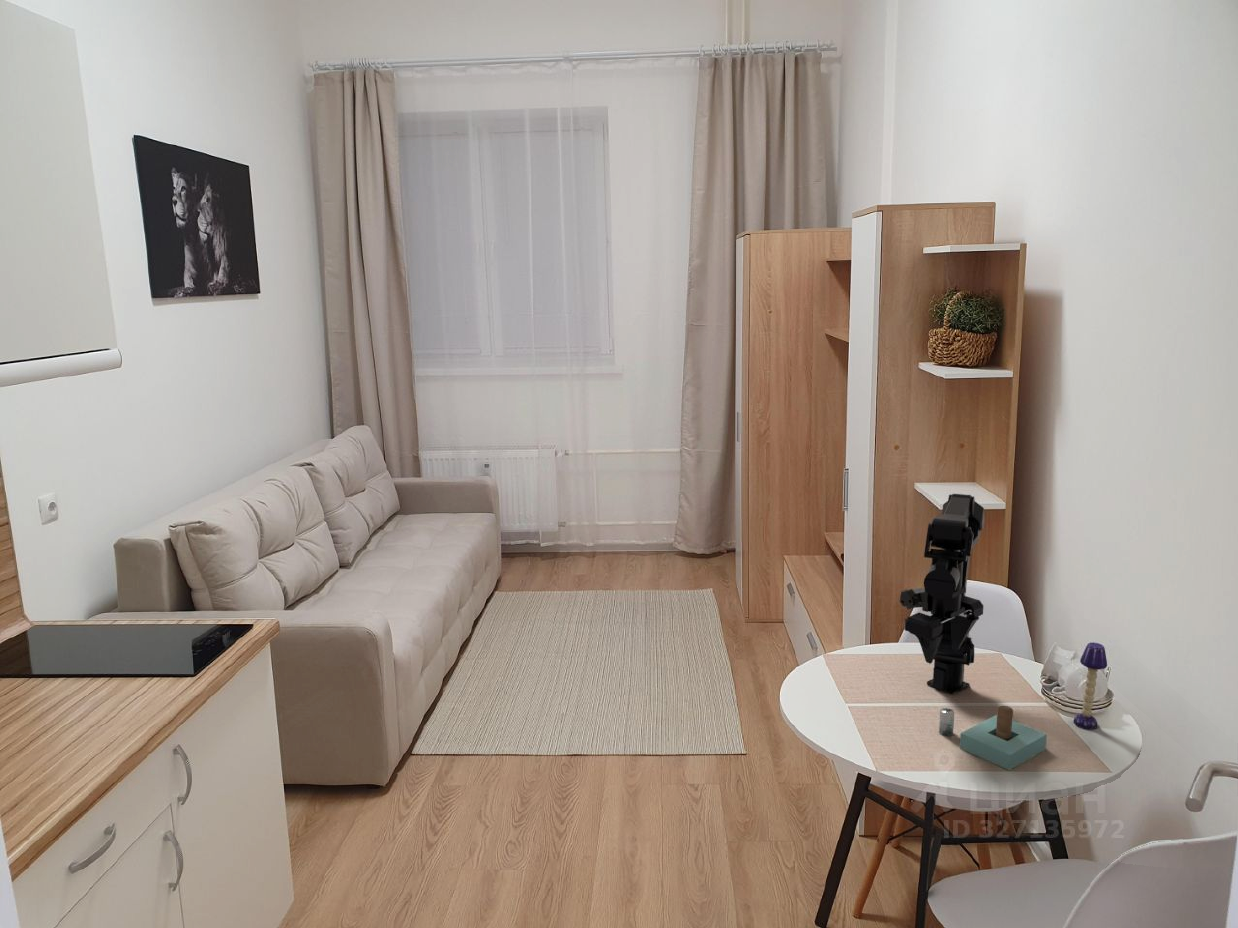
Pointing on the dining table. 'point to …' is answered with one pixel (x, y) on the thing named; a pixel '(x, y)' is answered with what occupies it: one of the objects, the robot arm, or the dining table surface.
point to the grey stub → (946, 722)
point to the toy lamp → (1090, 682)
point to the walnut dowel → (1004, 722)
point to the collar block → (1003, 743)
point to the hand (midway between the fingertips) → (942, 656)
